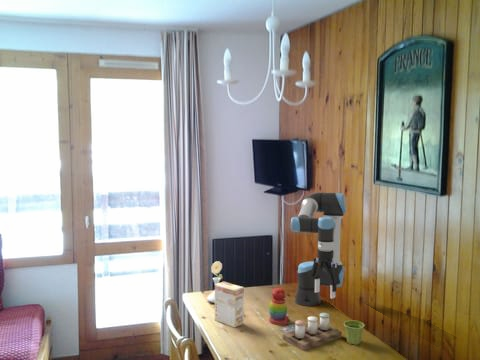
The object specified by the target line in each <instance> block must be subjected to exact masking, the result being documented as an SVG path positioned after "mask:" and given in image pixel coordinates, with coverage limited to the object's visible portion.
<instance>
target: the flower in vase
mask: <svg viewBox="0 0 480 360" xmlns="http://www.w3.org/2000/svg"><path fill="white" fill-rule="evenodd" d="M210 267H211V268H210V269H211V271H210V272H211V273H212V274H213V275H214V276H216V277H212V281H213V283H214V285H215V284H217V283H220V281H221V280H222V279H223V278H224V277H223V274H222V273H221V274H220V272H221V270H222V269H223V263H221V262H220V260H218V261H217V260H216V261H214V263H212V265H211V266H210ZM206 298H207V299H206V300H207V301H208V302H210V303H212V304H215V289H214V290H213V291H212V293H210V294H209V295H208V296H207V297H206Z"/></svg>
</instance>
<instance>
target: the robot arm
mask: <svg viewBox="0 0 480 360" xmlns="http://www.w3.org/2000/svg"><path fill="white" fill-rule="evenodd" d="M300 207H301V208H300V211H299V213H298V215H297V216H293V217H291V220H290V231H291V232H293V233H294V232H295V233H309V234H310V233H312V234H313V233H314V234H317V249H318V250H317V257H313V260H312V261H311V260H310V261H304V262H301V263H300V264H299V265H298V266H297V290H296V293H295V295H294V302H295V304H297V305H300V306H306V307H314V306H318V305H320V304H321V300H322V299H321V296H320V292H321V291H320V290H321V287H322V286H323V287H330V288H329V289H330V295H329V297H330V299H331V300H332V299H335V298H336V292H337V288H340V287H342V286H343V281H344V276H345V271H346V267H345V266H343V263H342V262H341V260H340V259H341V229H342V228H341V225H342V223H341V222H342V219H343V218H344V217H345V215H344V214H347V205H346V198H345V194H343V193H340V192H314V193H311V194H309V195H307V196H305V197H304V199H302V202H301V204H300ZM315 213H322V215H323V216H322V217H321V216H320V217H314V215H315ZM320 286H321V287H320Z"/></svg>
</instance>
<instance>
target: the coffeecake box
mask: <svg viewBox="0 0 480 360" xmlns="http://www.w3.org/2000/svg"><path fill="white" fill-rule="evenodd" d="M214 290H215V303H214V321H216V322H219V323H221V324H224V325H227V326H229V327H233V328H234V329H235V328H237V327H240V326H242V325H244V323H245V321H244V317H245V316H244V312H245V309H244V308H245V307H244V303H245V301H244V295H245V294H244V290H245V287H244V286H242V285H241V286H240V285H237V284H233V283H230V282H227V281H222V282H220V281H219V283H217V284H215V283H214Z"/></svg>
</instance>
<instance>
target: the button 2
mask: <svg viewBox="0 0 480 360" xmlns="http://www.w3.org/2000/svg"><path fill="white" fill-rule="evenodd" d="M330 315H331V314H330V313H327V312H320V313H319V323H320V329H322V330H328V329H329V326H330Z"/></svg>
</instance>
